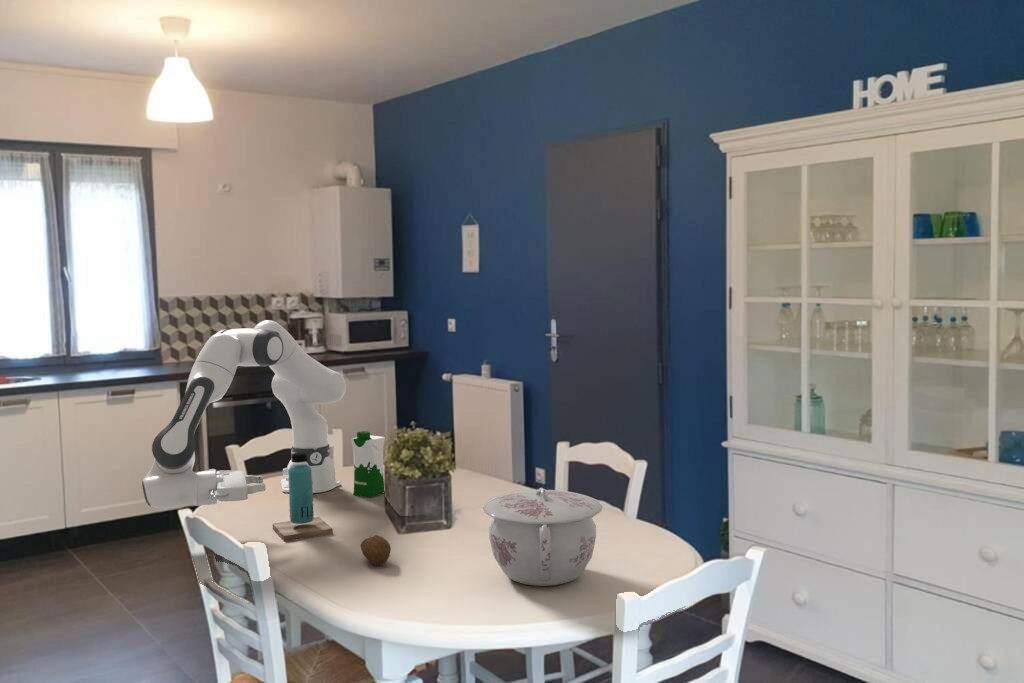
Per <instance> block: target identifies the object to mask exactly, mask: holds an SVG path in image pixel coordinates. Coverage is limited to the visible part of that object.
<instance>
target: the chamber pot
mask: <svg viewBox="0 0 1024 683" xmlns="http://www.w3.org/2000/svg"><path fill="white" fill-rule="evenodd" d="M481 508H482V510H483V511H484V512H483V513H485V514H486V515H488V516H489V517H491V518H493V519H492V521H491V523H490V525H489V527H488V532H489V534H488V535H489V536H488V537H489V542H490V547H491V551H492V552H491V553H492V554H493V557H494V559H495V561H496V563H497V564H498V566H499V567H500V569H501V570H502V572H503V574H504V575H505V576H507V577H508V578H509V579H511V580H512V581H514V582H517V583H520V584H523V585H527V586H532V585H533V587H554V586H559V585H563V584H566V583H569V582H572V581H575V580H576V579H577V578H578V577H580V576H581V575H582V574H583V572H584V571H585V569H586V568H587V566H588V565H589V563H590V561H591V560H592V558H593V555H594V549H595V545H596V544H595V543H596V539H597V524H596V523H595V522H594V519H593V518H594V517H596V516H597V515H599V514H601V512H602V510H603V505H602V504H601V503H600V501H599V500H597V499H596V498H594V497H591V496H588V495H586V494H582V493H578V492H572V491H566V490H558V489H545V488H543V487H539V488H538V489H530V490H529V489H528V490H519V491H518V490H517V491H514V492H510V493H504V494H501V495H496V496H494V497H492V498H490V499H488V500H486V502H485V503H484V504H483V506H482V507H481Z"/></svg>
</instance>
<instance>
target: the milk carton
mask: <svg viewBox="0 0 1024 683" xmlns="http://www.w3.org/2000/svg"><path fill="white" fill-rule="evenodd" d="M385 441H386V437H385V436H380V435H379V436H377V435H372V434H371V432H370V431H368V430H367V431H365V430H363V431H358V432H356V437H353V438H350V442H351V445H352V446H351V447H352V452H353V495H354V496H358V497H363V498H367V499H371V498H374V497H377V496H380V495H383V494H384V493H383V492H384V486H385V478H384V446H385Z"/></svg>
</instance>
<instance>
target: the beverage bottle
mask: <svg viewBox="0 0 1024 683" xmlns="http://www.w3.org/2000/svg"><path fill="white" fill-rule="evenodd" d="M291 459H292V462H295V463H299V462H306V461H307V454H306V453H294V454H292V457H291ZM311 471H312V469H311V468H310V467H309V466H308V465H305V464H298V465H293V466H292V467H291V468H290V469H289V470H288V474H289V492H288V494H289V495H288V499H289V500H288V502H289V505H288V506H289V509H288V510H289V514H288V515H289V521H291V522H292V523H295V524H303V523H309V522H311V521H313V518H314V516H315V514H314V513H315V511H314V507H315V506H314V505H315V504H314V498H313V496H314V495H313V494H314V493H312V483H313V481H312V472H311Z"/></svg>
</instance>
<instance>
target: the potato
mask: <svg viewBox="0 0 1024 683" xmlns="http://www.w3.org/2000/svg"><path fill="white" fill-rule="evenodd" d="M360 550H361V552H362V555H363V556H364V558H366V560H368V562H370V563H371V564H372V565H375V566H381V565H384V564H385V563H386V562H387V561H388V560H389V558H390V555H391V551H392V550H391V545H390V543H389V542H388V540H387V539H385V538H384V537H382V535H377V534H376V535H373V536H372V535H371V536H369V537H366V538H364V539H363V540H362V541H361V543H360Z"/></svg>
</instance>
